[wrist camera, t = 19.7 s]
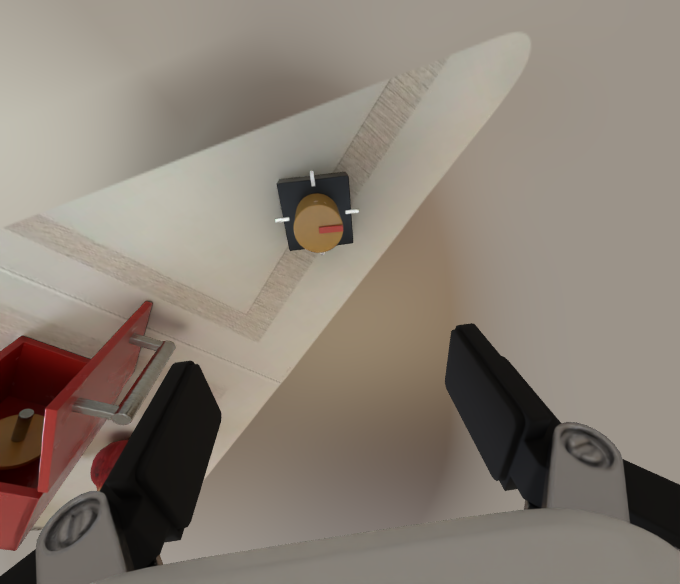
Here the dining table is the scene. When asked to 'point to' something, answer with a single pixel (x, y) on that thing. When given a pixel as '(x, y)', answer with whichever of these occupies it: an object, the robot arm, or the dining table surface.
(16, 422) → the red cabinet
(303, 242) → the valve knob
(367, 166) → the dining table surface
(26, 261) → the dining table surface
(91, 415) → the cabinet door
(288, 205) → the plate
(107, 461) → the onion
